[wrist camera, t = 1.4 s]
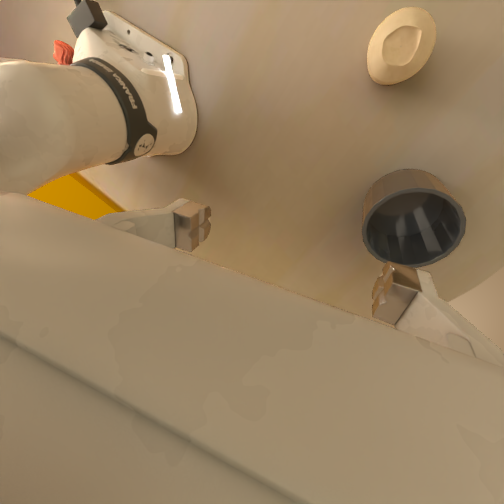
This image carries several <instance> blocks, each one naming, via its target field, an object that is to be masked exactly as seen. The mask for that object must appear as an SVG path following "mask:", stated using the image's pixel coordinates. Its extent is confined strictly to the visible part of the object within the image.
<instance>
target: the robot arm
mask: <svg viewBox="0 0 504 504" xmlns="http://www.w3.org/2000/svg"><path fill="white" fill-rule="evenodd" d="M74 1H75V4H76V8H75V9H74V10H73V11H72V12H71V14H70V15H69V16H68V17H67V20H68V22H69V24H70V25H71V27H72V29H73V31H74V33H75V35H76V37H77V39H78V40H77V42H76V46H75V50H74V49H73V48H72V47H71V46H70V45H68V44H66V43H64V42H62V41H59V40H55V41H54V51H55V52H54V54H53V57H54V59H55V60H56V61H57V62H59V64H50V63H39V62H28V61H17V60H13V61H6V62H1V63H0V504H504V353H503V351H502V350H501V349H500V348H499V347H498V346H497V345H495V344H494V343H493V342H492V341H491V340H490V339H488V338H487V337H486V336H485V335H484V334H482V332H480V331H479V330H478V329H477V328H476V327H475V326H473V325H472V324H471V323H470V322H469V321H468V320H467V319H465V318H464V317H463V316H462V315H461V314H460V313H458V312H457V311H456V310H455V309H454V308H453V307H451V306H450V305H449V304H448V303H447V302H446V301H445V300H443V299H441V298H439V297H438V294H437V291H436V288H435V285H434V282H433V280H432V277H431V274H430V273H429V272H426V271H422V270H418V269H415V268H412V267H408V266H405V265H401V264H398V263H394V262H390V261H388V262H387V263H386V264H385V266H384V268H383V275H382V276H380V277H378V278H377V280H376V282H375V285H374V287H373V291H372V299H373V300H374V303H373V305H372V317H374V318H377V319H379V320H382V321H385V322H387V323H390V324H392V325H395V328H396V329H395V328H392V327H389V326H387V325H384V324H381V323H378V322H375V321H373V320H370V319H367V318H364V317H362V316H359V315H356V314H353V313H350V312H348V311H345V310H342V309H339V308H337V307H334V306H331V305H328V304H325V303H323V302H320V301H317V300H314V299H312V298H309V297H306V296H303V295H300V294H298V293H295V292H292V291H289V290H287V289H284V288H281V287H278V286H275V285H273V284H270V283H267V282H264V281H262V280H259V279H256V278H253V277H250V276H248V275H245V274H242V273H239V272H237V271H234V270H231V269H228V268H225V267H223V266H220V265H217V264H214V263H212V262H209V261H206V260H203V259H201V258H198V257H195V256H192V255H189V254H187V253H184V252H181V251H178V250H176V249H173V248H175V247H177V248H180V249H183V250H186V251H189V252H192V251H193V250H194V249H195V248H196V247H197V246H199V242H201V241H204V240H205V239H206V238H207V237H208V235H209V232H210V227H211V224H210V222H209V220H208V218H209V217H210V216H211V209H210V207H209V206H206V205H203V204H200V203H197V202H193V201H191V200H187V199H184V198H180V199H178V200H176V201H175V202H173V203H171V204H169V205H167V206H165V207H164V208H162V209H160V208H154V209H145V210H136V211H128V212H119V213H110V214H107V215H105V216H103V217H100V218H98V219H96V220H92V219H89V218H86V217H84V216H81V215H78V214H76V213H73V212H70V211H67V210H64V209H61V208H59V207H56V206H53V205H50V204H48V203H45V202H42V201H40V200H37V199H34V198H32V197H29V196H27V195H28V194H29V193H31V192H33V191H35V190H36V189H38V188H40V187H42V186H43V185H45V184H47V183H49V182H51V181H53V180H55V179H58V178H60V177H62V176H65V175H68V174H71V173H74V172H77V171H81V170H84V169H87V168H91V167H94V166H98V165H101V164H109V165H113V164H117V163H122V162H126V161H130V160H133V159H136V158H138V157H140V156H144V157H152V156H155V155H177V154H180V153H182V152H184V151H185V150H186V149H187V148H188V147H189V146H190V144H191V143H192V141H193V139H194V137H195V133H196V129H197V108H196V103H195V99H194V96H193V94H192V91H191V88H190V85H189V77H188V66H187V61H186V59H185V57H184V56H183V55H182V54H180V53H178V52H177V51H175V50H173V49H172V48H170V47H169V46H167V45H165V44H164V43H162V42H161V41H159V40H157V39H156V38H154V37H152V36H151V35H149V34H148V33H146V32H144V31H143V30H141V29H139V28H138V27H136V26H135V25H133V24H131V23H130V22H128V21H126V20H125V19H123V18H122V17H120V16H118V15H117V14H115V13H113V12H111V11H104V12H102V10H101V8H100V6H99V4H98V3H97V2H94V1H91V0H82V1H81V0H74ZM73 55H74V56H73ZM172 57H173V60H174V61H173V63H172ZM72 58H73V63H72Z"/></svg>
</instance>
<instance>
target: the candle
mask: <svg viewBox="0 0 504 504" xmlns="http://www.w3.org/2000/svg"><path fill="white" fill-rule="evenodd" d="M435 40H436V27H435V23H434V20H433V18H432V17H431V15H430V14H429V13H428V12H427V11H425V10H423V9H421V8H418V7H407V8H403V9H400V10H398V11H396V12H394V13H392V14H391V15H389V16H388V17H387V18H386V19H385V20H384V21H383V22H382V23H381V24H380V25H379V26H378V28H377V29H376V31H375V32H374V34H373V36H372V38H371V40H370V43H369V47H368V52H367V67H368V72H369V75H370V76H371V78H372V79H373V80H374V81H375V82H376V83H378V84H381V85H392V84H396V83H399V82H401V81H404V80H406V79H408V78H410V77H411V76H413V75H414V74H415V73H417V72H418V71H419V70H420V69H421V68H422V67H423V66H424V64H425V63H426V62H427V60H428V58H429V57H430V55H431V53H432V51H433V48H434V45H435Z"/></svg>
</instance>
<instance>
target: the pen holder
mask: <svg viewBox="0 0 504 504" xmlns="http://www.w3.org/2000/svg"><path fill="white" fill-rule="evenodd" d="M465 227H466V218H465V215H464V212H463V210H462V207H461V206H460V204H459V203H458V202H457V201H456V199H455V198H454V197H453V196H452V195H451V193H450V192H449V191H448V190H447V188H446V187H445V186H444V185H443V184H442V183H441V182H440V181H439V180H438V179H437V178H436V177H435V176H434V175H432V174H430V173H428V172H426V171H422V170H418V169H403V170H398V171H395V172H392V173H389V174H387V175H385V176H384V177H382V178H380V179H379V180H378V181H377V182H376V183H374V184H373V186H372V187H371V188H370V189H369V191H368V193H367V195H366V197H365V200H364V205H363V217H362V236H363V242H364V244H365V246H366V248H367V250H368V251H369V252H370V253H371V254H372V255H373V256H374V257H375V258H376V259H378V260H380V261H382V262H384V263H387V262H388V261H390V262H394V263H398V264H401V265H405V266H408V267H412V268H418V267H422V266H426V265H430V264H433V263H435V262H437V261H439V260H441V259H443V258H445V257H447V256H448V255H449V254H450V253H451V252H452V251H453V250H454V249H455V248H456V247H457V246H458V245H459V243H460V241H461V239H462V238H463V236H464V234H465Z"/></svg>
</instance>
